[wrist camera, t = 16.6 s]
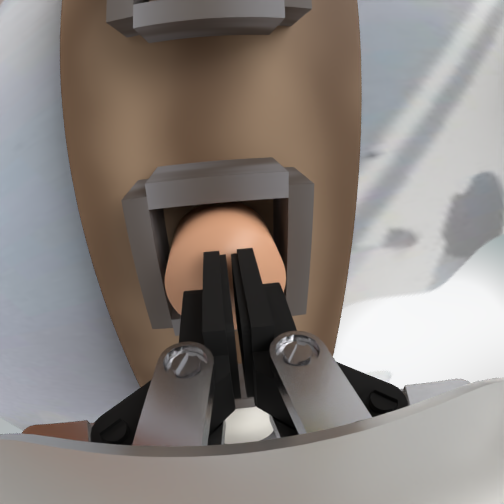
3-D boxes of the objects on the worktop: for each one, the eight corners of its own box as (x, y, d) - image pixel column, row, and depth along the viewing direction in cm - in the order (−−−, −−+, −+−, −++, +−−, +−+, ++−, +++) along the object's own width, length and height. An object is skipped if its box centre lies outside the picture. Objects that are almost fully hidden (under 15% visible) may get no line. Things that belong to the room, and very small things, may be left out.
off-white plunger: (267, 376, 20) (275, 411, 17) (267, 409, 22) (273, 440, 19) (203, 383, 19) (205, 419, 17) (211, 415, 21) (214, 446, 19)
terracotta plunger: (270, 196, 13) (287, 223, 10) (270, 283, 15) (284, 324, 12) (165, 205, 12) (154, 234, 10) (180, 292, 14) (176, 334, 12)
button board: (319, -67, 10) (364, -116, 4) (307, 386, 28) (326, 444, 22) (96, -54, 9) (56, -101, 3) (166, 401, 27) (164, 462, 20)
